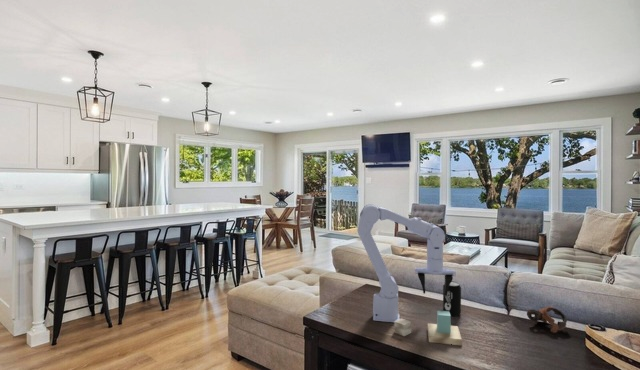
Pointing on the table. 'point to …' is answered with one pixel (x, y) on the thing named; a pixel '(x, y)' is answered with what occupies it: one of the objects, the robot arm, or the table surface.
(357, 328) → the table surface
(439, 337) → the cream square slab
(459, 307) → the beverage can
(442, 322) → the teal block
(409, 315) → the table surface
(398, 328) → the cream cube
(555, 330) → the rusty metal shackles
